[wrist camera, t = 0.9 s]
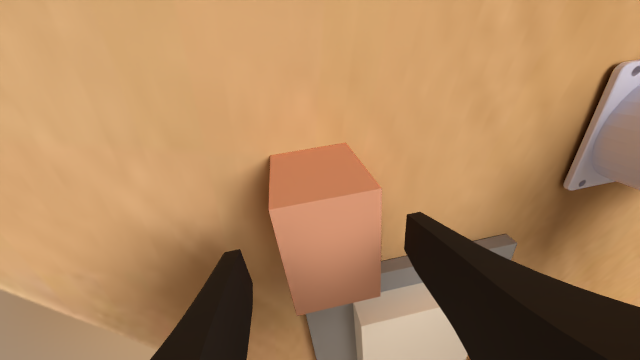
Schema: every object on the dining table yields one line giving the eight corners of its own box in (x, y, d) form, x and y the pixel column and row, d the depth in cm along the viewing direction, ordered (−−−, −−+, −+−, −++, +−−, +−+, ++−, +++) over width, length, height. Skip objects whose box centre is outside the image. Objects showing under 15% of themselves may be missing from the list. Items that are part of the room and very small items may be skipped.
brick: (345, 142, 13) (381, 188, 9) (351, 228, 16) (380, 296, 11) (270, 154, 13) (268, 210, 8) (290, 241, 15) (296, 315, 11)
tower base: (505, 234, 19) (544, 264, 16) (472, 330, 25) (496, 363, 22) (299, 279, 17) (303, 320, 14) (320, 369, 23) (325, 409, 21)
